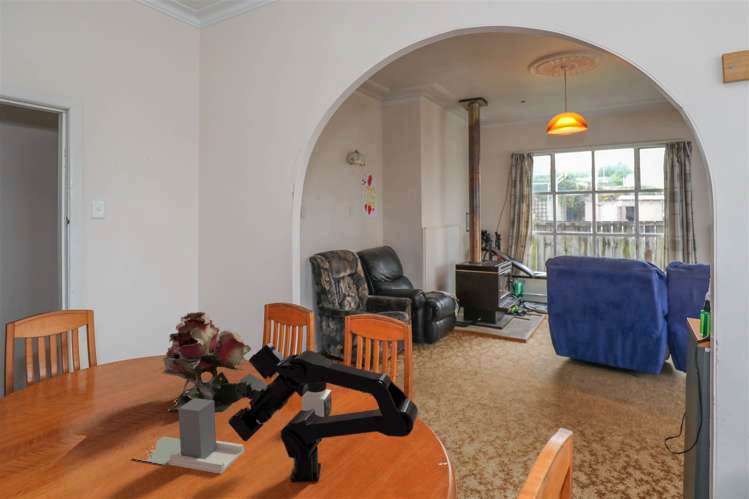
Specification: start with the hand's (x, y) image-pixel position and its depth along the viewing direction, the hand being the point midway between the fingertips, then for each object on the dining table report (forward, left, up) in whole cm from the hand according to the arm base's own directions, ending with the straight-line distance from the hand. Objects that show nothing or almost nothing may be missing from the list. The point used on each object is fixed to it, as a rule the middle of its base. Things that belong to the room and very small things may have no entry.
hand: (240, 430), depth 105 cm
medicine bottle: (+24, -17, -9) cm, 30 cm away
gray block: (+4, +12, -8) cm, 15 cm away
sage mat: (+7, +22, -8) cm, 25 cm away
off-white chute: (+3, +9, -8) cm, 13 cm away
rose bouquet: (+39, +23, -9) cm, 46 cm away
